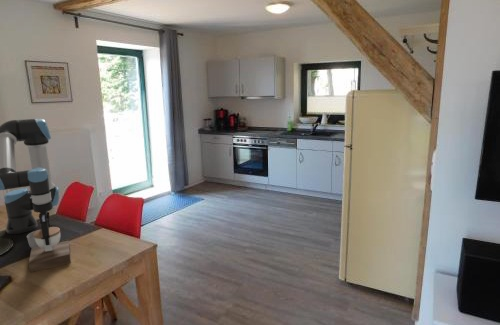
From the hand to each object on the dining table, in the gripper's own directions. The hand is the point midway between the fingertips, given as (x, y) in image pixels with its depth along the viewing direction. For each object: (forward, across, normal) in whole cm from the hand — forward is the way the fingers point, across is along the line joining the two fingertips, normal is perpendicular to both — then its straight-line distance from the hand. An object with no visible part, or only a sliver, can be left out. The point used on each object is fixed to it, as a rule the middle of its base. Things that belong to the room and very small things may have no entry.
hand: (49, 245), depth 153 cm
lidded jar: (+1, 0, 0) cm, 1 cm away
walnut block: (+8, 0, 0) cm, 8 cm away
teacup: (+8, -19, -4) cm, 21 cm away
